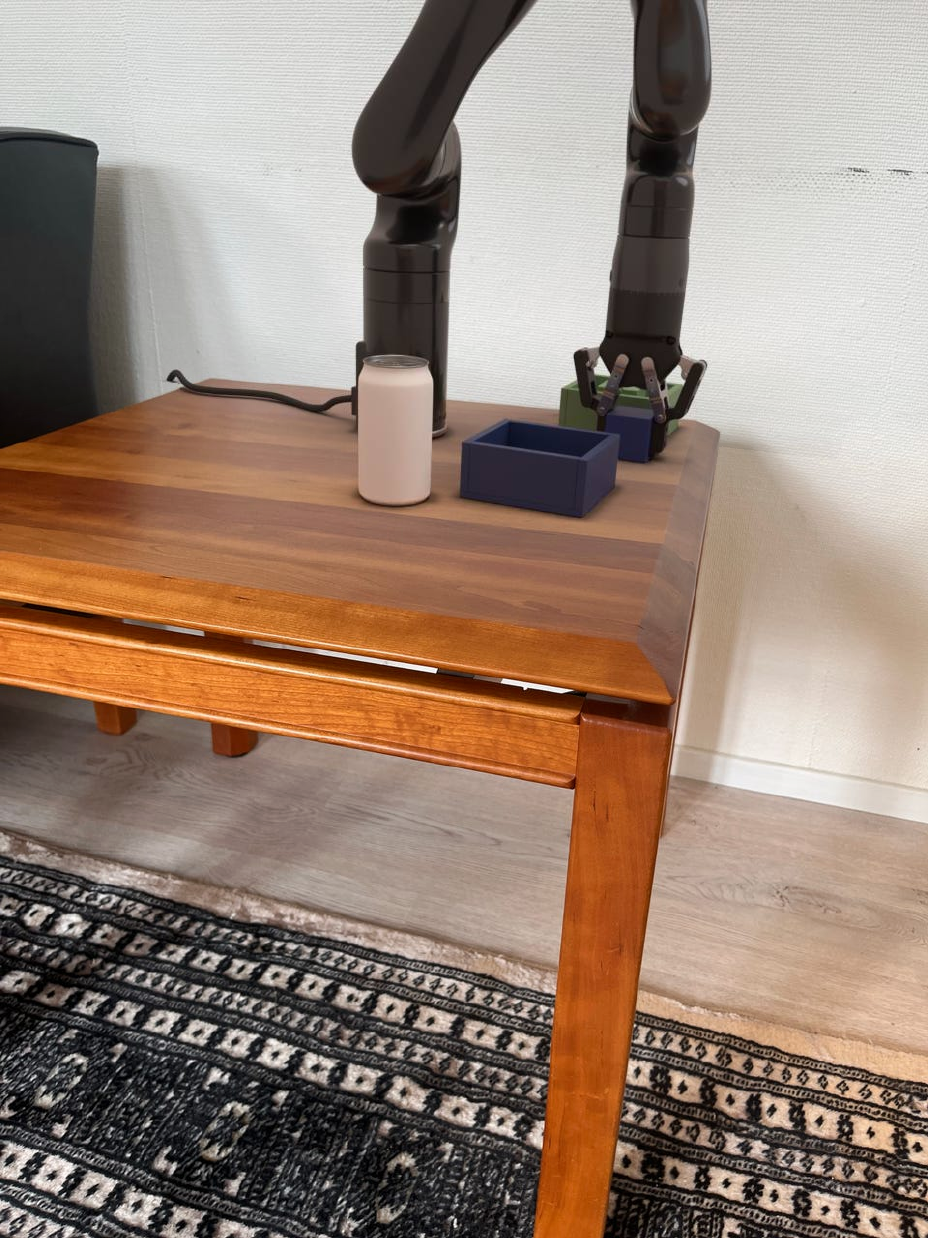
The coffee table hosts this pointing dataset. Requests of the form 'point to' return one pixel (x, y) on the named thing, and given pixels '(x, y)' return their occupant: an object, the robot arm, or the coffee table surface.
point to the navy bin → (539, 466)
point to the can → (395, 429)
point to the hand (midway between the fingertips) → (629, 451)
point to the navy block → (631, 432)
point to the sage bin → (587, 418)
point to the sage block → (625, 390)
